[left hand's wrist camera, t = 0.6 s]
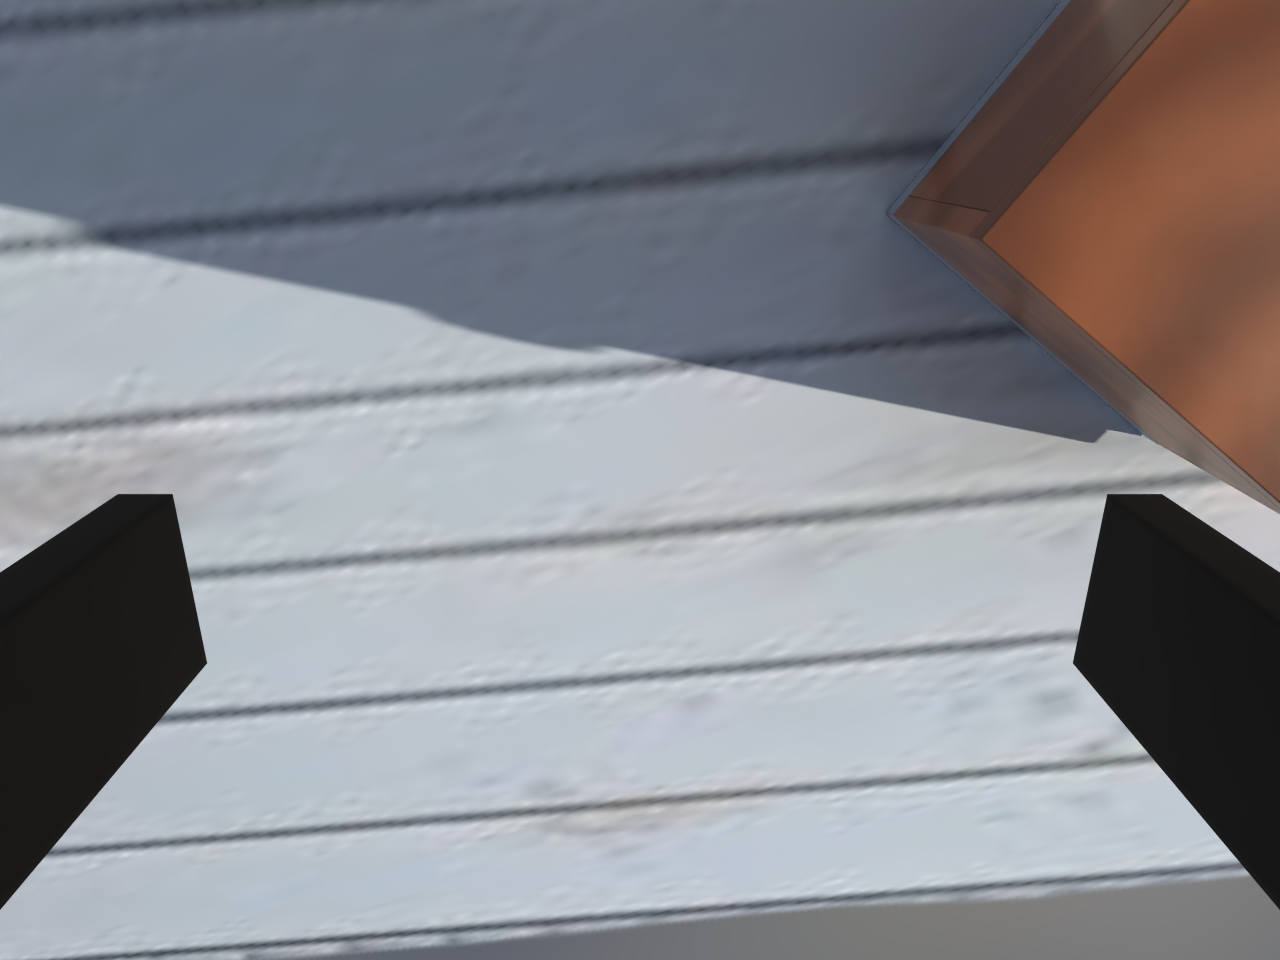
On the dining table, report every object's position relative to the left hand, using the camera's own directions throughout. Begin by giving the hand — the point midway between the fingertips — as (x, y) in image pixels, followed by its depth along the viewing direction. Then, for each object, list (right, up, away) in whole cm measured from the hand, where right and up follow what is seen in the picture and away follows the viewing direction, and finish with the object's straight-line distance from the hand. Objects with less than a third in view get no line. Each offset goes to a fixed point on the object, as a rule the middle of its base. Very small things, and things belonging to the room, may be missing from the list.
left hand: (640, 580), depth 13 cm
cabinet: (+20, +12, +24) cm, 33 cm away
